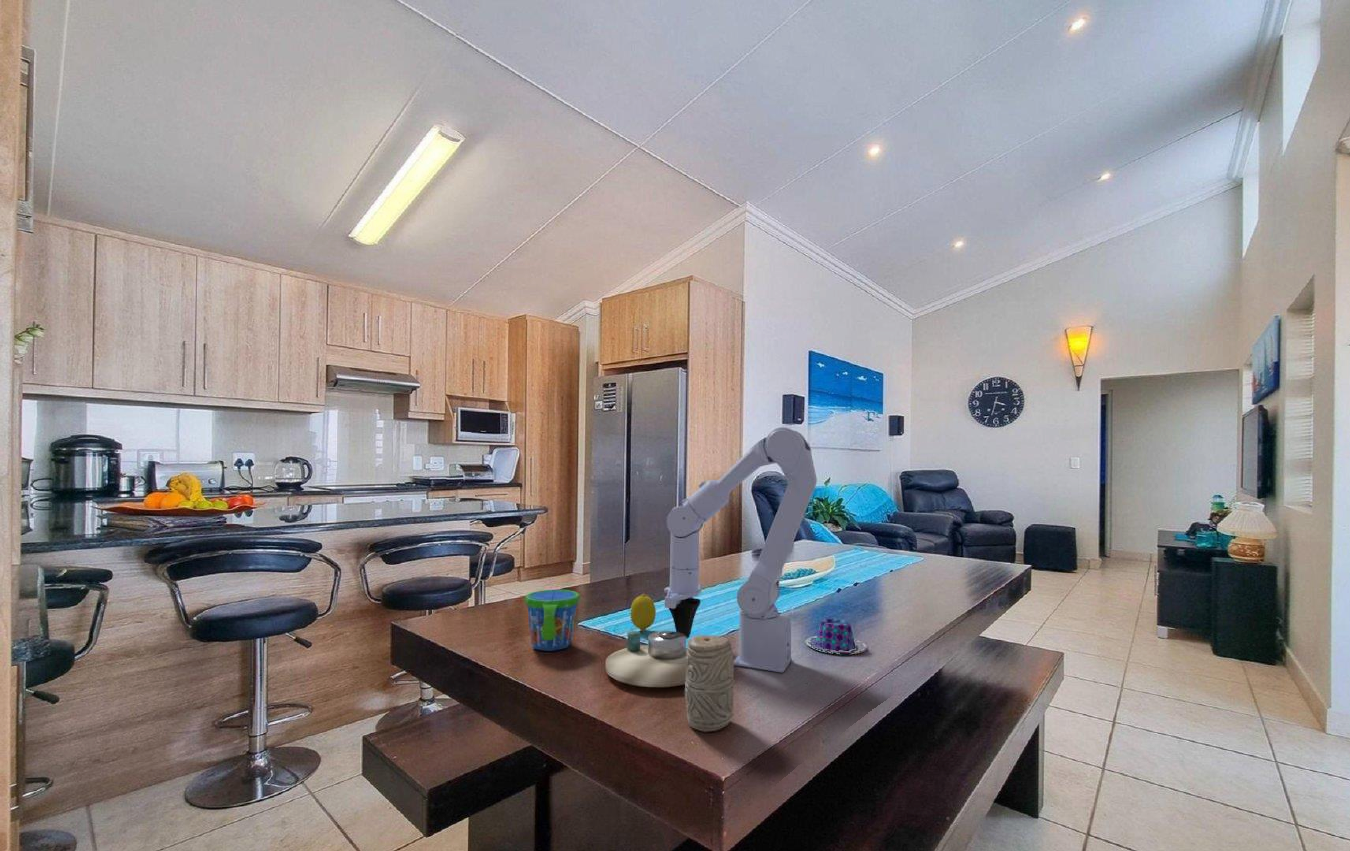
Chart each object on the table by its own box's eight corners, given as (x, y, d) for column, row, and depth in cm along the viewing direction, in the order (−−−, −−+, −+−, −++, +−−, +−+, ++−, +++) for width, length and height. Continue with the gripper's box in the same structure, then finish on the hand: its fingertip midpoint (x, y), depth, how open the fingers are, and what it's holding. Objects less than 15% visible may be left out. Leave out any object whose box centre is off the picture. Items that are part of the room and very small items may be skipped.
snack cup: (533, 634, 121) (534, 585, 122) (582, 634, 121) (584, 586, 122) (514, 659, 106) (516, 604, 106) (571, 660, 106) (573, 604, 107)
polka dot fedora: (874, 647, 117) (874, 621, 118) (853, 662, 108) (853, 634, 108) (819, 635, 125) (819, 611, 125) (795, 648, 115) (795, 622, 116)
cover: (691, 650, 106) (692, 630, 107) (677, 662, 100) (677, 641, 100) (657, 645, 109) (658, 626, 109) (641, 656, 103) (642, 636, 103)
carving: (674, 726, 80) (675, 639, 81) (707, 710, 86) (708, 628, 86) (709, 742, 76) (711, 650, 76) (742, 723, 81) (743, 637, 82)
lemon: (654, 635, 122) (655, 597, 122) (628, 634, 122) (629, 596, 122) (656, 627, 127) (656, 591, 128) (631, 627, 127) (632, 591, 128)
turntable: (721, 658, 105) (721, 636, 105) (685, 694, 88) (685, 668, 89) (634, 645, 112) (634, 624, 112) (585, 676, 95) (586, 651, 96)
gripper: (679, 560, 121) (678, 625, 120) (650, 571, 108) (649, 645, 107) (711, 562, 118) (710, 629, 117) (685, 575, 105) (683, 650, 104)
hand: (683, 637), depth 112 cm, fingers closed
